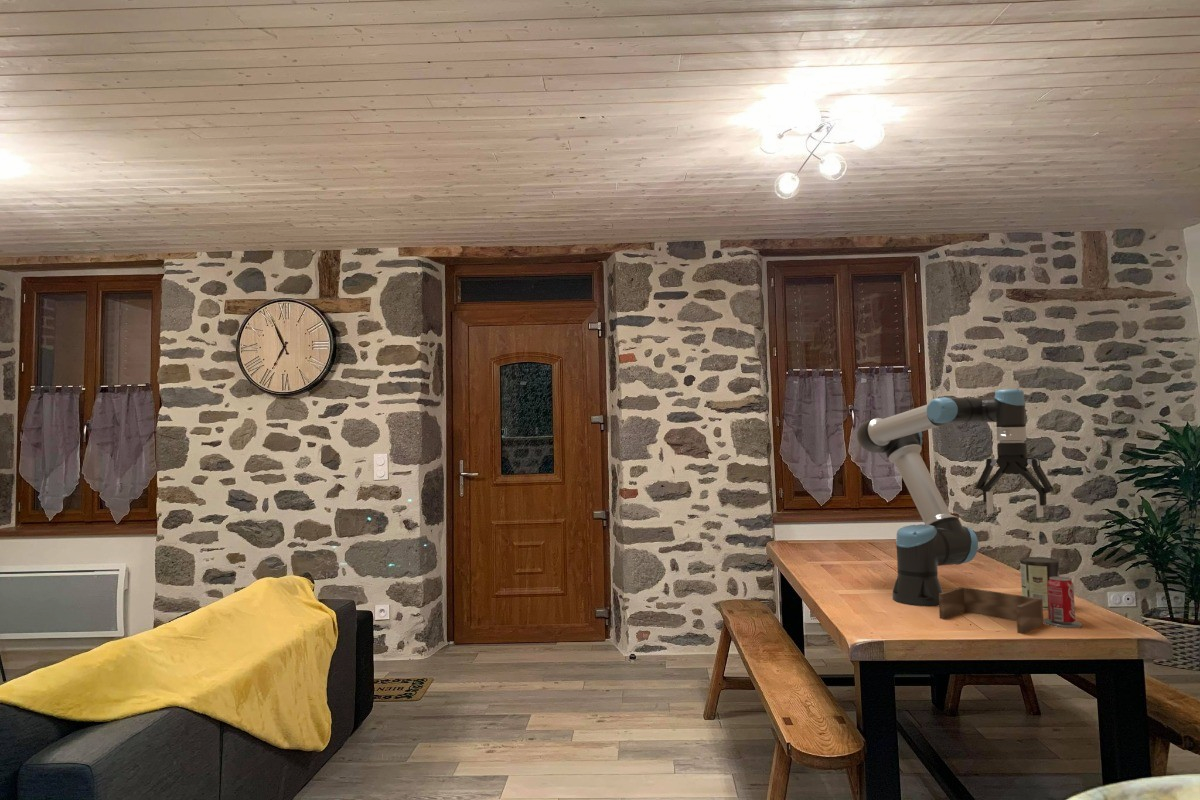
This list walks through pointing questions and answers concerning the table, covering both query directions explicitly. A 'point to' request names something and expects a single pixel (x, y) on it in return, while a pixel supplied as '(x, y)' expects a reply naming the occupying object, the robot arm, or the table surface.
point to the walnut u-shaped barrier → (993, 606)
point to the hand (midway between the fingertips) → (1014, 515)
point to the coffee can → (1037, 576)
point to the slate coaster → (1072, 625)
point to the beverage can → (1061, 600)
